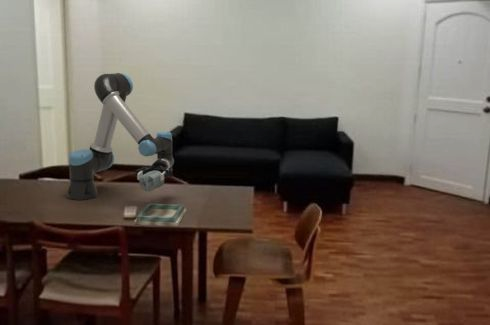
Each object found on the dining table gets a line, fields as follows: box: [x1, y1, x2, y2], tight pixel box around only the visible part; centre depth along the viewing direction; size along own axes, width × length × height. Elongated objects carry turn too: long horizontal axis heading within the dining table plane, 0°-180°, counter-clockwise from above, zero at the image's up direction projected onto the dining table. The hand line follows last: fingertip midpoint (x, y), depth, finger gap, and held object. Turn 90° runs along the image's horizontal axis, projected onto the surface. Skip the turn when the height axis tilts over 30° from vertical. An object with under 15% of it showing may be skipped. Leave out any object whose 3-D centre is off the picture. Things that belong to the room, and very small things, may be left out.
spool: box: [138, 171, 165, 192], centre depth 248 cm, size 14×10×10 cm
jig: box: [133, 203, 187, 227], centre depth 248 cm, size 19×22×4 cm
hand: (149, 177), depth 243 cm, fingers closed on spool, 10 cm apart
